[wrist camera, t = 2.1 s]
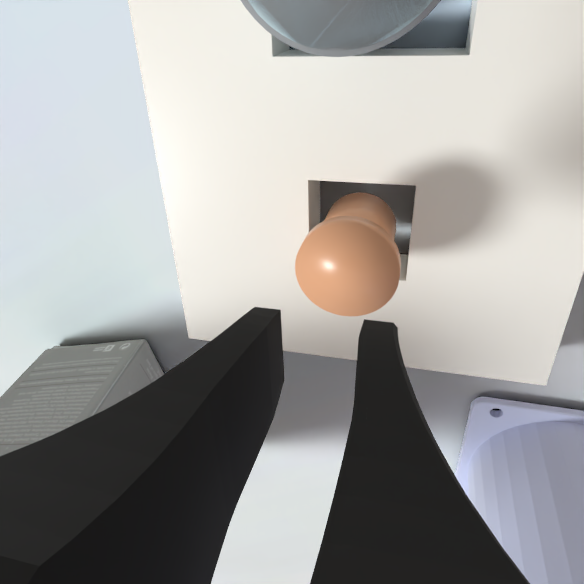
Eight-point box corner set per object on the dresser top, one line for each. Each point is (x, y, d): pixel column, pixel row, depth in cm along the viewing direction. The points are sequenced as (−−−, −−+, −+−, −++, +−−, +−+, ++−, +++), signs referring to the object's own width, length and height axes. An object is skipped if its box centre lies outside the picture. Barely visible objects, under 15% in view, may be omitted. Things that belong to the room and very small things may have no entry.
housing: (803, -537, 8) (892, -664, 7) (536, 351, 19) (546, 385, 17) (104, -374, 12) (49, -434, 10) (206, 312, 22) (188, 338, 20)
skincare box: (51, 341, 26) (-333, 696, 13) (164, 332, 24) (-169, 758, 11) (117, 450, 30) (-128, 807, 17) (219, 453, 27) (26, 870, 14)
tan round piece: (409, 185, 15) (404, 228, 13) (401, 268, 17) (394, 321, 14) (317, 181, 16) (293, 220, 13) (317, 261, 18) (296, 310, 15)
